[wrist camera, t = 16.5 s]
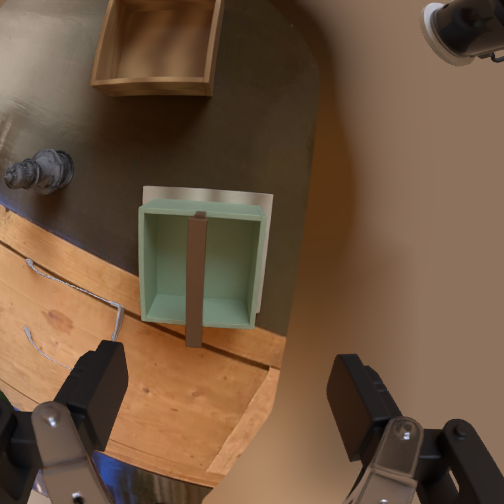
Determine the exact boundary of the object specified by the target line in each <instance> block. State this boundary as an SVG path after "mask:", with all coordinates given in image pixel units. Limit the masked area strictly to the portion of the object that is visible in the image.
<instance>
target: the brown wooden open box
mask: <svg viewBox="0 0 504 504" xmlns="http://www.w3.org/2000/svg"><path fill="white" fill-rule="evenodd" d="M224 9H225V7H224V0H109V2H108V6H107V9H106V13H105V16H104V20H103V24H102V28H101V32H100V36H99V40H98V45H97V49H96V54H95V59H94V64H93V69H92V75H91V81H90V86H91V87H93V88H95V89H97V90H99V91H101V92H103V93H106V94H108V95H110V96H112V97H115V96H136V95H190V96H212V94H213V86H214V78H215V70H216V63H217V55H218V48H219V41H220V35H221V28H222V22H223V15H224Z"/></svg>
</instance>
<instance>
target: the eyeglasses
mask: <svg viewBox="0 0 504 504" xmlns="http://www.w3.org/2000/svg"><path fill="white" fill-rule="evenodd" d="M26 263H27V264H28V265H29V266H30V267H31V268H32V269H33V270H34V271H36V272H37V273H39V274H40V275H42V276H44V277H47V278H50V279H53V280H56V281H60V280H58V279H55V278H52V277H49V276H47V275H44V274H42V273H40V272H39V271H38V270H37V269H36V268H35V267H34V266H33V261H32V260H30V259H26ZM60 282H62V281H60ZM62 283H65V282H62ZM65 284H67V283H65ZM67 285H70V284H67ZM70 286H72V285H70ZM72 287H74V286H72ZM74 288H77V287H74ZM77 289H79V288H77ZM79 290H82V289H79ZM82 291H84V290H82ZM84 292H86V291H84ZM86 293H89V292H86ZM89 294H91V293H89ZM91 295H93V294H91ZM93 296H95V295H93ZM95 297H98V296H95ZM98 298H100V297H98ZM100 299H102V298H100ZM102 300H104V299H102ZM104 301H107V300H104ZM107 302H109V301H107ZM109 303H110V304H111V305H113V306H116V307H118V315H117V320H116V326H115V332H114V334H113V333H112V337H111V341H116V338H117V336H118V333H119V330H120V327H121V324H122V320H123V315H124V307H121V305H120V304H118V303H115V302H113V301H112V302H109ZM24 330H25V333H26V335H27V337H28V339H29V340H30V342H31V343H32V344H33V346H34V347H35V348H36V349H37V350H38V351H39V352H40V353H41V354H43V355H44V356H46V355H45V354H44V353H42V352H41V351H40V350H39V349H38V348H37V347H36V346H35V344H34V343H33V341H32V339H31V334H30V330H29V329H28V328H27V327H24ZM46 357H47V358H49V359H50V360H52V361H54V360H53V359H51V358H50V357H48V356H46ZM55 362H56V361H55ZM57 363H58V362H57ZM59 364H60V363H59ZM61 365H62V364H61ZM63 366H64V365H63ZM65 367H66V366H65ZM67 368H68V367H67ZM69 369H71V368H69ZM71 370H72V369H71Z"/></svg>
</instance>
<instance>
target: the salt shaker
mask: <svg viewBox="0 0 504 504" xmlns="http://www.w3.org/2000/svg"><path fill="white" fill-rule="evenodd" d="M73 170H74V166H73V161H72V159H71V157H70V156H69V154H67V153H66V152H64V151H54V150H52V149H42V150H39V151H38V152H37V153H36V154H35V155H34V156H33V157H32V159H25V160H24V161H23V162H22V163H14V164H11V165H10V166H9V167H8V168H7V170H6V172H5V177H4V179H5V183H6V185H7V186H8V187H9V188H10V189H18V188H24V189H28V190H29V189H32V188H33V189H34V190H35V191H36V192H37V193H39V194H43V195H46V194H50V193H52V192H53V191H55V190H56V189H61V188H63V187H65V186H66V185H67V184H68V183H69V182H70V180H71V179H72V176H73Z"/></svg>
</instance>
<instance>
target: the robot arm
mask: <svg viewBox="0 0 504 504" xmlns="http://www.w3.org/2000/svg"><path fill="white" fill-rule="evenodd" d="M449 2H450V1H449ZM430 23H431V27H432V30H433V32H434V34H435V36H436V38H437V40H438V41H439V42H440V44H441V45H442V46H443V47H444V48H445V49H446V50H447V51H448V52H449V53H451V54H452V55H454V56H456V57H459V58H465V57H468V56H469V57H471V58H472V57H476V56H478V57H479V58H481V59H483V58H487V57H491V59H492V61H494V62H497V63H499V62H502V61H504V56H503V57H500V58H495V55H494V52H495V51H499V50H504V0H454V1H452V2H450V3H448V4H447V3H446V4H445V5H443V6H442V7H441V8H437V9H436V10H434V11H433V12H432V13H431V17H430ZM127 387H128V370H127V364H126V358H125V352H124V346H123V344H122V343H121V342H115V341H108V340H102V341H101V343H100V344H99V346H98V348H97V349H96V351H88V352H87V353H85V354H84V355H83V356H81V357H80V358H79V360H78V361H77V363H76V364H75V366H74V368H73V369H72V371H71V372H70V375H69V376H68V377H67V379H66V380H65V382H64V384H63V385H62V387H61V389H60V390H59V392H58V394H57V395H56V397H55V399H54V400H53V401H48V402H44V403H42V404H40V405H38V406H37V407H36V408H35V409H34V411H33V412H23V411H13V410H12V408H11V406H10V405H9V403H8V402H7V401H5V400H4V399H1V398H0V459H1V460H0V504H27V502H28V499H29V496H30V493H31V490H32V487H33V484H34V481H35V478H36V475H37V473H38V470H39V469H41V474H42V478H43V481H44V484H45V487H46V489H47V492H48V495H49V498H50V500H51V503H52V504H115V502H114V501H113V499H112V497H111V495H110V494H109V492H108V490H107V488H106V486H105V484H104V483H103V481H102V479H101V477H100V475H99V473H98V471H97V469H96V467H95V465H94V462H93V460H92V458H91V456H92V453H93V451H94V450H98V451H102V452H104V451H105V448H106V445H107V442H108V439H109V436H110V433H111V431H112V428H113V425H114V422H115V419H116V417H117V414H118V411H119V409H120V406H121V403H122V400H123V398H124V395H125V393H126V390H127ZM327 399H328V402H329V404H330V407H331V410H332V413H333V415H334V418H335V421H336V424H337V426H338V430H339V432H340V435H341V438H342V441H343V443H344V446H345V449H346V452H347V454H348V458H349V460H350V462H353V461H358V460H361V462H362V464H363V465H362V467H361V469H360V470H359V473H358V475H357V477H356V479H355V481H354V482H353V485H352V486H351V488H350V490H349V492H348V494H347V496H346V498H345V499H344V501H343V503H342V504H411V503H412V500H413V497H414V493H415V490H416V492H417V495H418V497H419V500H420V503H421V504H504V477H503V475H502V474H501V472H500V470H499V468H498V467H497V465H496V463H495V462H494V460H493V458H492V457H491V455H490V453H489V452H488V451H487V448H486V447H485V445H484V444H483V442H482V440H481V439H480V437H479V436H478V434H477V432H476V431H475V429H474V428H473V427H472V426H471V424H469V423H468V422H466V421H464V420H461V419H452V420H450V421H448V422H447V423H446V424H445V426H444V427H443V429H423V428H422V426H421V425H420V424H419V423H418V422H417V421H416V420H414V419H412V418H410V417H404V416H403V415H402V414H401V412H400V410H399V408H398V407H397V405H396V403H395V402H394V400H393V398H392V397H391V395H390V393H389V391H387V388H386V386H385V385H384V384H383V381H382V380H381V378H380V376H379V375H378V373H377V372H376V371H374V370H373V369H372V368H371V367H369V366H364V365H363V364H362V362H361V360H360V358H359V357H358V355H357V354H339V355H337V356H336V357H335V360H334V364H333V367H332V370H331V374H330V377H329V380H328V384H327ZM2 455H3V456H2ZM1 457H2V458H1ZM450 470H451V471H452V473H453V475H454V477H455V479H456V481H457V483H458V485H459V493H458V491H457V489H456V487H455V484H454V482H453V480H452V478H451V476H450V474H449V471H450ZM156 504H161V503H156Z"/></svg>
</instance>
